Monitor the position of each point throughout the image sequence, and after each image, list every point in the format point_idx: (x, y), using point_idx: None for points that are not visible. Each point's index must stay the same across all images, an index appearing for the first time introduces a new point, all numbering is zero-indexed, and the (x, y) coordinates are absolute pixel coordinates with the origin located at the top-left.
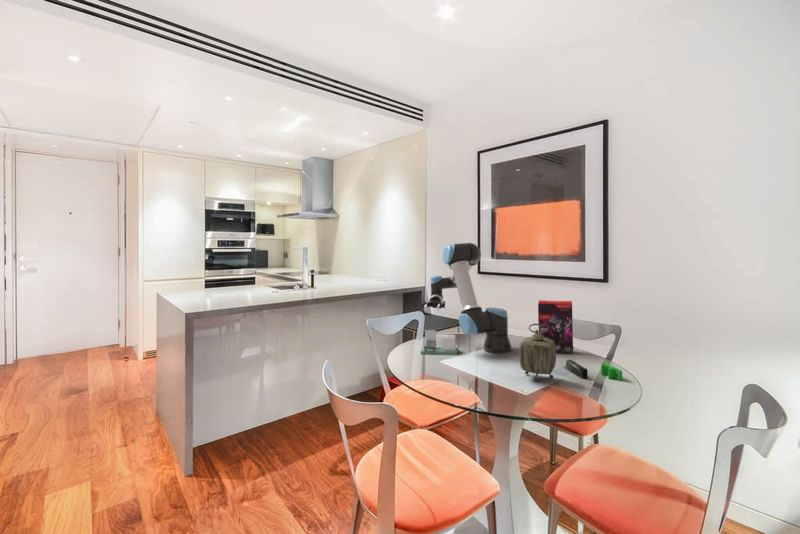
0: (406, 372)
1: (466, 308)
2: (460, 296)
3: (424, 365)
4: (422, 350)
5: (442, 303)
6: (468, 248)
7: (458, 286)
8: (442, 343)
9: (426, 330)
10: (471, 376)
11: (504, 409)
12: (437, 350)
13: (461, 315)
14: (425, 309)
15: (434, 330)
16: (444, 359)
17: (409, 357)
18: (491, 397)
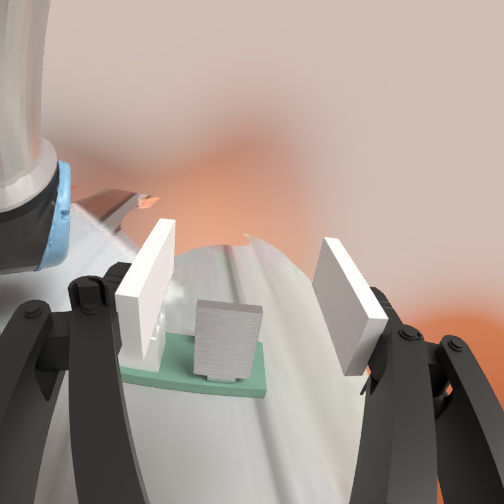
0: (267, 257)
1: (44, 138)
2: (41, 81)
3: (229, 278)
4: (256, 349)
5: (4, 468)
6: None
7: (47, 15)
8: (164, 318)
9: (253, 305)
10: (123, 235)
11: (119, 191)
12: (188, 344)
13: (70, 171)
14: (317, 270)
15: (204, 301)
16: (166, 303)
17: (294, 325)
18: (121, 202)
